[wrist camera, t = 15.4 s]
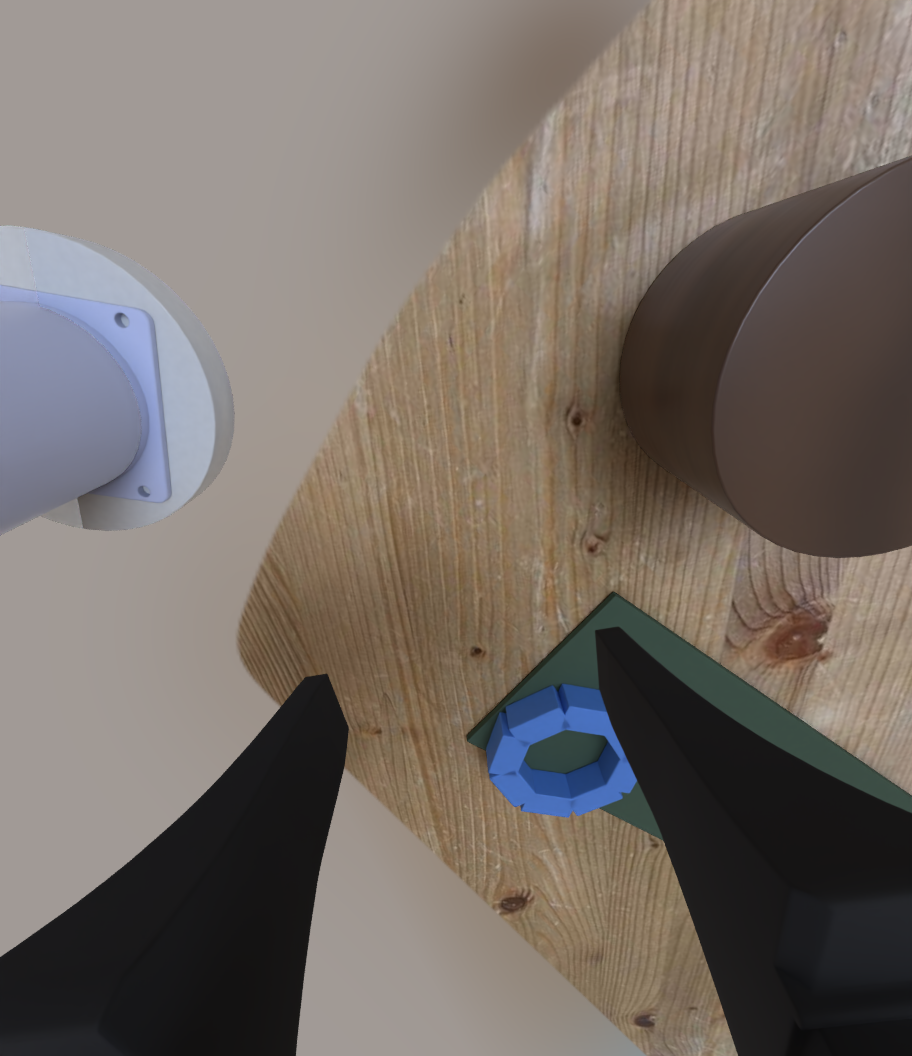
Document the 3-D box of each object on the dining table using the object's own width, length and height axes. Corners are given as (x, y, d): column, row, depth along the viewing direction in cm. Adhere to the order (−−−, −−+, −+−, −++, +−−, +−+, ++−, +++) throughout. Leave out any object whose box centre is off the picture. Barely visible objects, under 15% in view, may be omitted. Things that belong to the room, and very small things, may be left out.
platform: (588, 463, 19) (657, 534, 13) (672, 179, 15) (831, 82, 9) (804, 497, 20) (966, 578, 14) (938, 236, 16) (1255, 184, 10)
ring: (473, 779, 27) (475, 805, 26) (513, 674, 24) (517, 697, 22) (603, 797, 28) (612, 823, 27) (659, 699, 25) (672, 723, 23)
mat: (466, 735, 26) (466, 741, 26) (613, 590, 22) (616, 595, 22) (865, 938, 37) (869, 944, 36) (1013, 865, 33) (1019, 871, 32)
